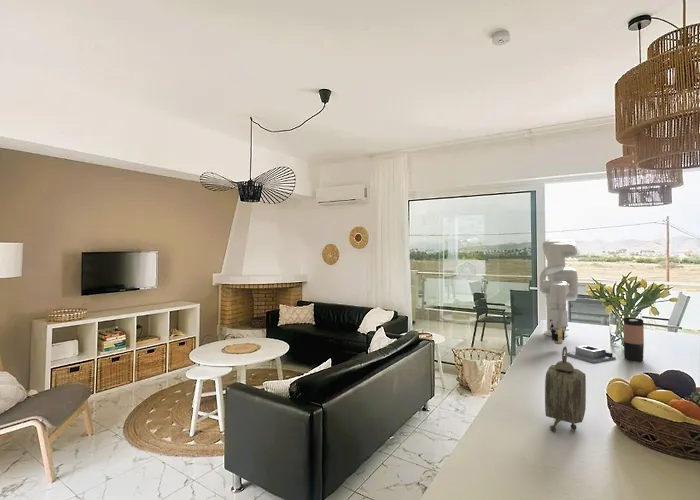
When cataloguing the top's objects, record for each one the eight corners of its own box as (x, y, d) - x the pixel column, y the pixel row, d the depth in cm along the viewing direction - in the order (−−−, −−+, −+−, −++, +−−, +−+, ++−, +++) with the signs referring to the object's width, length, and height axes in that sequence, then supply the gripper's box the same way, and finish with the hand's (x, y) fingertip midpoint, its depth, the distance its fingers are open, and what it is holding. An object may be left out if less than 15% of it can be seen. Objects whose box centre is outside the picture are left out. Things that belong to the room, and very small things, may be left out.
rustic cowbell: (553, 414, 117) (553, 340, 117) (586, 422, 111) (586, 344, 111) (545, 432, 106) (544, 350, 105) (580, 442, 100) (580, 355, 100)
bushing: (557, 341, 189) (557, 325, 189) (564, 343, 186) (564, 327, 185) (551, 342, 188) (551, 326, 187) (558, 344, 184) (558, 327, 184)
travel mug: (636, 357, 174) (636, 317, 174) (647, 362, 167) (647, 320, 167) (620, 357, 175) (619, 317, 175) (630, 362, 168) (630, 320, 167)
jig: (587, 351, 185) (587, 342, 185) (615, 359, 172) (615, 350, 172) (566, 355, 179) (566, 346, 179) (593, 363, 166) (593, 354, 166)
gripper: (562, 303, 192) (562, 336, 193) (540, 306, 186) (540, 340, 187) (575, 305, 185) (575, 339, 186) (553, 309, 179) (553, 344, 180)
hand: (558, 339), depth 187 cm, fingers closed on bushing, 4 cm apart
